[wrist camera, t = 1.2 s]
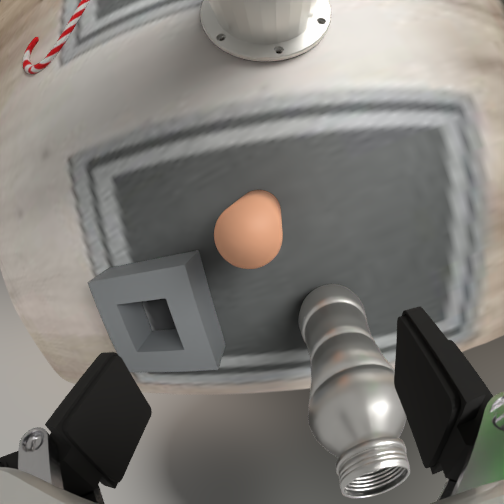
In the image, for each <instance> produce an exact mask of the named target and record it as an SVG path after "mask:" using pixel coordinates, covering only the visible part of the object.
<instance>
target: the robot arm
mask: <svg viewBox="0 0 504 504" xmlns="http://www.w3.org/2000/svg"><path fill="white" fill-rule="evenodd" d="M200 19H201V23H202V26H203V29H204V31H205V32H206V34H207V36H208V37H209V38H210V40H211V41H212V42H213V43H214V44H215V45H216V46H218V47H219V48H220V49H222V50H223V51H225V52H227V53H229V54H231V55H233V56H236V57H239V58H242V59H246V60H253V61H279V60H285V59H289V58H292V57H296V56H298V55H300V54H303V53H305V52H307V51H308V50H310V49H311V48H313V47H314V46H316V45H317V44H318V43H319V42H320V41H321V39H322V38H323V37H324V35H325V33H326V32H327V30H328V27H329V25H330V21H331V7H330V3H329V1H328V0H203V2H202V4H201V10H200ZM319 23H321V24H319ZM222 39H224V40H223V41H221V40H222ZM278 51H280V52H281V54H277V53H276V52H278ZM394 385H395V389H396V392H397V394H398V397H399V399H400V402H401V404H402V407H403V409H404V412H405V414H406V417H407V420H408V422H409V425H410V428H411V430H412V433H413V436H414V438H415V441H416V444H417V447H418V450H419V453H420V456H421V459H422V461H423V464H424V466H425V468H429V467H430V468H431V471H432V474H435V473H437V472H440V471H442V470H443V471H444V474H445V477H446V478H448V479H447V481H446V483H445V486H444V488H443V490H442V492H441V494H440V496H439V498H438V499H437V501H436V502H434V503H430V504H504V392H501V393H498V394H497V395H495V396H494V397H493V395H492V394H491V393H490V391H489V390H488V388H487V387H486V385H485V384H484V382H483V381H482V379H481V378H480V377H479V375H478V374H477V372H476V371H475V370H474V368H473V367H472V366H471V364H470V363H469V361H468V360H467V359H466V357H465V356H464V355H463V353H462V352H461V351H460V349H459V348H458V347H457V346H456V344H455V343H454V342H453V341H451V340H448V339H447V338H446V337H445V336H444V334H443V333H442V332H441V331H440V329H439V328H438V327H437V325H436V324H435V323H434V322H433V321H432V319H431V318H430V317H429V316H428V314H427V313H426V312H425V311H424V310H423V308H421V307H416V308H413V309H409V310H405V311H403V313H402V316H401V317H398V320H397V345H396V361H395V374H394ZM150 417H151V407H150V406H149V404H148V403H147V401H146V399H145V397H144V396H143V394H142V392H141V391H140V389H139V387H138V386H137V384H136V382H135V381H134V379H133V377H132V375H131V374H130V372H129V370H128V368H127V366H126V364H125V363H124V361H123V359H122V358H121V357H120V356H119V355H118V354H117V353H114V352H111V353H101V354H100V355H99V356H98V357H97V358H96V360H95V361H94V362H93V363H92V365H91V366H90V367H89V368H88V369H87V371H86V372H85V373H84V374H83V376H82V377H81V378H80V379H79V381H78V382H77V383H76V385H75V386H74V387H73V389H72V390H71V391H70V392H69V394H68V395H67V396H66V397H65V399H64V400H63V401H62V403H61V404H60V405H59V407H58V408H57V409H56V410H55V412H54V413H53V415H52V416H51V417H50V419H49V420H48V421H47V423H46V424H45V425H46V426H47V428H48V429H49V430H50V431H51V434H50V435H49V434H48V433H47V431H46V430H45V429H43V428H33V429H31V430H29V431H28V432H26V433H25V434H24V435H23V437H22V438H21V440H20V443H19V451H17V452H14V453H11V454H9V455H6V456H3V457H1V458H0V504H104V501H103V498H102V495H101V492H100V488H99V486H98V483H99V481H100V482H101V483H102V484H103V485H105V486H108V487H112V488H116V486H117V484H118V482H120V481H121V480H122V478H123V476H124V474H125V471H126V469H127V467H128V465H129V462H130V460H131V458H132V456H133V454H134V451H135V449H136V447H137V445H138V443H139V440H140V438H141V436H142V434H143V432H144V430H145V427H146V425H147V423H148V421H149V419H150Z"/></svg>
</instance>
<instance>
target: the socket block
mask: <svg viewBox="0 0 504 504" xmlns="http://www.w3.org/2000/svg"><path fill="white" fill-rule="evenodd" d="M88 285H89V287H90V290H91V293H92V295H93V298H94V301H95V303H96V306H97V308H98V311H99V313H100V316H101V318H102V320H103V323H104V325H105V328H106V330H107V332H108V334H109V337H110V339H111V341H112V343H113V345H114V347H115V350H116V352H117V354H118V355H119V356H120V357H121V358H122V359H123V361H124V363H125V364H126V366H127V368H128V370H129V372H185V371H205V370H218V369H219V366H220V362H221V359H222V356H223V352H224V349H225V346H226V344H225V340H224V337H223V334H222V331H221V327H220V324H219V321H218V317H217V314H216V310H215V307H214V304H213V300H212V297H211V293H210V290H209V286H208V283H207V279H206V275H205V272H204V268H203V264H202V261H201V257H200V253H199V250H197V251H191V252H186V253H181V254H176V255H171V256H166V257H161V258H156V259H151V260H146V261H141V262H136V263H131V264H126V265H121V266H116V267H111V268H109V269H107V270H105V271H104V272H102V273H101V274H99V275H98V276H96V277H95V278H93V279H92V280H91V281H89V282H88ZM164 298H166V300H167V303H168V306H169V309H170V312H171V315H172V318H173V321H174V323H175V326H176V329H168V330H156V331H152V329H151V326H150V324H149V321H148V318H147V316H146V313H145V311H144V308H143V305H142V302H141V301H149V300H156V299H164Z"/></svg>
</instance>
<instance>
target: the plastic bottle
mask: <svg viewBox="0 0 504 504" xmlns="http://www.w3.org/2000/svg"><path fill="white" fill-rule="evenodd" d="M298 322H299V328H300V331H301V334H302V337H303V340H304V341H305V343H306V345H307V349H308V352H309V356H310V360H311V389H310V398H309V407H308V420H309V426H310V428H311V431H312V433H313V435H314V437H315V439H316V440H317V441H318V442H319V443H320V444H321V445H322V446H323V447H324V448H325V449H326V450H327V451H328V452H330V453H331V454H333V455H334V456H336V457H337V458H338V460H337V462H336V471H337V474H338V476H339V480H340V489H341V491H342V494H343V495H344V496H346V497H349V498H366V497H371V496H375V495H378V494H381V493H384V492H387V491H389V490H391V489H393V488H395V487H396V486H398V485H400V484H401V483H402V482H403V481H405V480H406V478H407V477H408V476H409V474H410V466H409V462H408V459H407V456H406V451H407V450H406V447H405V444H404V442H403V441H402V440H401V439H399V437H400V435H401V432H402V430H403V428H404V425H405V421H406V418H407V417H406V414H405V412H404V409H403V407H402V404H401V402H400V399H399V397H398V394H397V392H396V389H395V385H394V374H395V370H394V369H393V367H392V366H391V365H390V364H389V362H388V361H387V360H386V359H385V357H384V356H383V354H382V353H381V351H380V349H379V348H378V346H377V345H376V343H375V341H374V339H373V338H372V335H371V332H370V330H369V327H368V324H367V318H366V313H365V309H364V306H363V304H362V302H361V300H360V299H359V297H358V296H357V295H356V294H355V293H353V292H352V291H351V290H350V289H349V288H347V287H345V286H342V285H339V284H327V285H323V286H320V287H318V288H316V289H314V290H313V291H312V292H310V293H309V294H308V295H307V297H306V298H305V299H304V301H303V303H302V306H301V309H300V313H299V320H298Z"/></svg>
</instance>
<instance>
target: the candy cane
mask: <svg viewBox="0 0 504 504" xmlns="http://www.w3.org/2000/svg"><path fill="white" fill-rule="evenodd" d="M89 1H90V0H81V2H80V4H79V5H78V7H77V9H76V10H75V12H74V14H73V16H72V17H71V19H70V21H69V22H68V24H67V26H66V28H65V29H64V31H63V33H62V34H61V36H60V38H59V39H58V41H57V43H56V44H55V46H54V47H53V48H52V50H51V51H50V52H49V54H48V55H47V56H46V57H45V58H44V59H43V60H42V61H41V62H40V63H38V64H36V65H32V64H31V63H30V54H31V51H32V49H33V48H34V46H35V45H36V44H37V42H38V41H39V39H38V37H35V38H34V39H33V40H32V41H31V43H30V44H29V46H28V47H27V49H26V51H25V54H24V57H23V69H24V70H25V71H26V72H27V73H29V74H35V73H38V72H39V71H41V70H42V69H44V68H45V67H46V66H47V65H48V64H49V63H50V62H51V61H52V60H53V59H54V57H55V56H56V55H57V53H58V52H59V51H60V49H61V48H62V46H63V45H64V43H65V42H66V40H67V39H68V37H69V35H70V34H71V32H72V30H73V29H74V27H75V25H76V23H77V22H78V20H79V18H80V17H81V15H82V13H83V11H84V10H85V8H86V6H87V5H88V3H89Z"/></svg>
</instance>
